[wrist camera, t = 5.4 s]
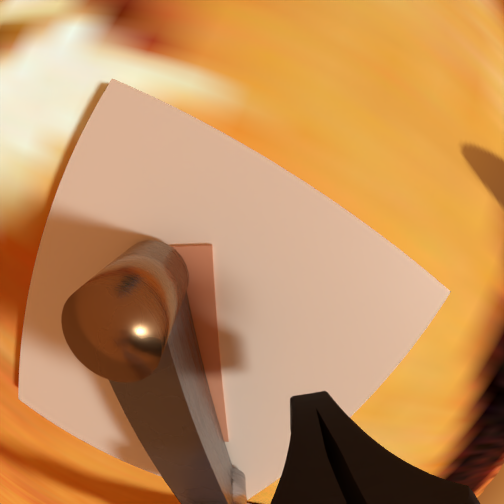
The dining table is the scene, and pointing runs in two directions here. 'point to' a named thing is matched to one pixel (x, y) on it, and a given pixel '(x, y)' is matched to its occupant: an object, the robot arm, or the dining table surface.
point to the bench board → (219, 281)
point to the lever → (155, 368)
